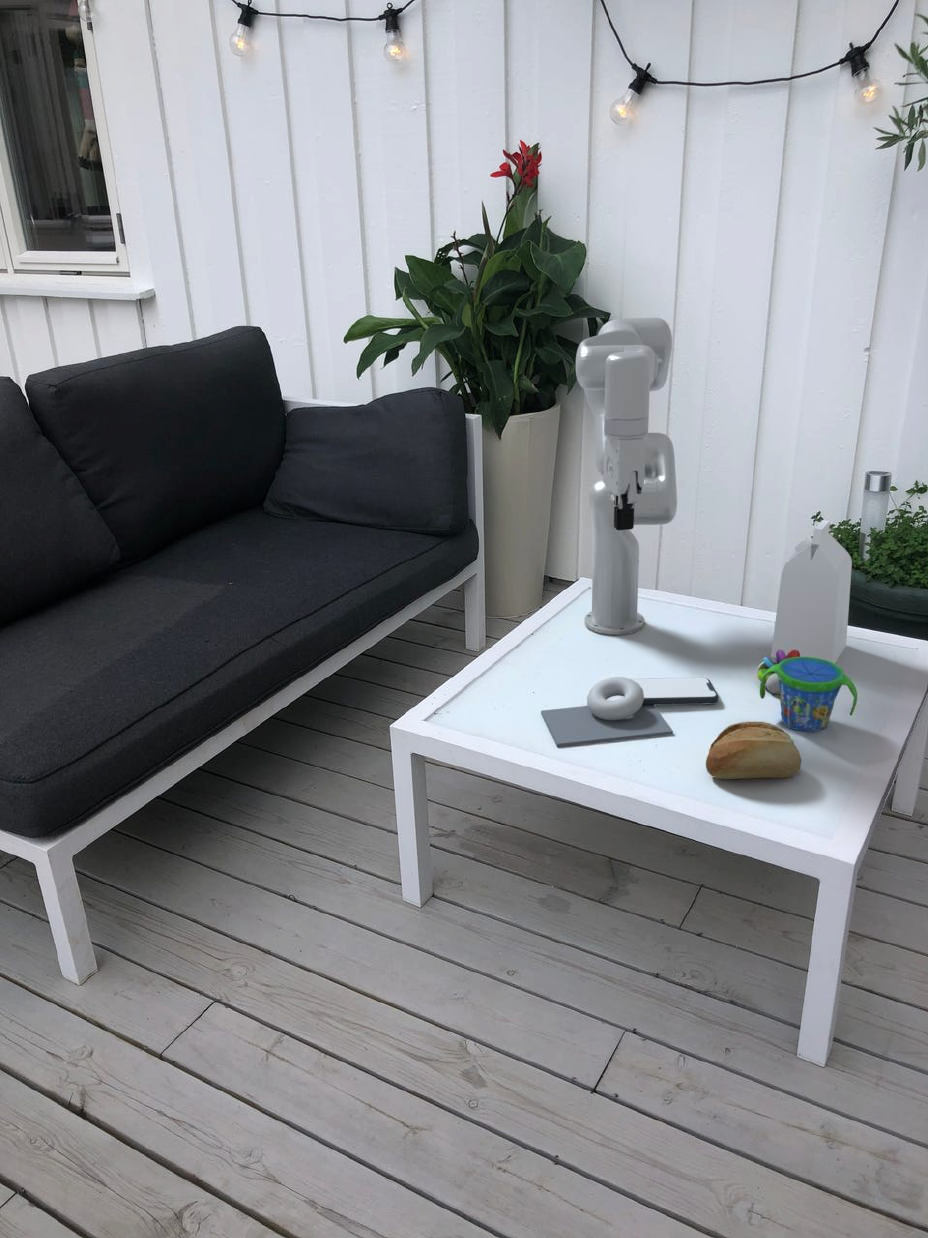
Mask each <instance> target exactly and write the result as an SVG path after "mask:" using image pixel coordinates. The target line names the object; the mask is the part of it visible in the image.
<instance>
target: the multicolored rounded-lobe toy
mask: <svg viewBox="0 0 928 1238" xmlns="http://www.w3.org/2000/svg"><path fill="white" fill-rule="evenodd" d="M793 657H800V653H799V651H797V650H792V651H790V652H789V653H788V654H787V656H786V655H785V653H784V651H783V650H781V649H780V650H777V652H776V658H775V660H776V661H773V660H772V659H771V657H768V656H765V657H763V659H762V662H761V663H760V664H759V665H757V666H758V667H757V672H756V673H757V675H756V676H757V679H758V680H759V681H760V682H761V680H762V677H763V676H764V674H765V672H766V671H767V670H768V669H769V668H770V667H772V666H774V665H776V664H779V663H780V662H782V661H783V660H785V659H788V658H793ZM765 688H767V690H768V692H770V693H772V694H774V695H777V694H778V695H780V684H779V678H778V675H777V674H776V673H775V672H771V673H769V674H768V675H767V676H766V678H765Z"/></svg>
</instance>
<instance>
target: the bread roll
mask: <svg viewBox="0 0 928 1238" xmlns="http://www.w3.org/2000/svg"><path fill="white" fill-rule="evenodd" d="M802 761H803V760H802V755H801V753H800V750H799V749H798V746H796V744H795V741H794V739H793V738H792V737H791V735H789V734H788V733H787V732H785V730H784V729H782V728H781V727H779V726H777V725H775V724H772V723H771V722H770V723H769V722H767V721H766V722H765V721H744V722H738V723H737V722H736V723H734V724H731V725H728V726H727V727H725V729H723V730H722V731H721V732H720V733H719V734H718V736H717V737H716V739H715V740H714V741H713V742H712V743H711V744H710V747H709V749H708V754H707V757H706V759H705V768H706V772H707V773H708V774H709V775H710V776H711V777H715V778H717V779H719V780H720V779H724V780H728V779H729V780H730V779H734V780H735V779H761V778H763V779H764V778H766V779H767V778H768V779H769V778H770V779H774V778H790V777H792V776H794V775H796V774H797V773H798V772H799V771H801V770H800V769H801V767H802V763H803V762H802Z"/></svg>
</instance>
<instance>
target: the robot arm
mask: <svg viewBox="0 0 928 1238" xmlns="http://www.w3.org/2000/svg"><path fill="white" fill-rule="evenodd" d="M672 347H673V337H672V331H671V328H670V325H669V324H668V323H667V321H666V320H665V319H663V318H660V317H631V318H630V317H627V318H626V317H625V318H623V317H622V318H614V319H612V320H609V321H607V322H606V323H605V324H603V325H602V326H601V328H600V329H599V331H598V334H597V335H594V336H590V337H588V338H586V339H583V340H582V341H581V342H580V344H579V345H578V347H577V350H576V354H575V355H576V356H575V375H576V380H577V382H578V384H579V386H580V387H581V388H583V392H584V395H585V398H586V402H587V404H588V407H589V409H590V411H591V414H592V417H593V421H594V437H595V439H594V443H595V444H594V445H595V448H594V449H595V465H596V470H597V472H598V474H599V475H600V476H601V477H602V479H599V480H597V481H596V482H595V483H593V484H592V485H591V487H590V490H589V492H588V493H589V494H588V506H589V512H590V518H591V520H590V521H591V528H592V529H591V531H592V568H591V569H592V575H591V576H592V577H591V578H592V581H591V582H592V583H591V586H592V587H591V611H590V612H589V613H587V614H585V615H584V625H585V627H587V629H589V630H590V631H593V632H596V633H599V634H604V635H610V636H611V635H612V636H614V635H616V636H620V635H629V634H633V633H636V632H638V631H640V630H642V628H644V626H645V617H644V616H643V615H642V614H641V613H639V612H638V604H639V603H638V601H639V600H638V599H639V598H638V597H639V596H638V594H639V569H640V568H639V567H640V563H639V562H640V544H639V541H638V539H637V537H636V536H635V535H634V533H633V532H632V531H631V530H633V529H634V526H660V525H661V526H662V525H667V524H669V523H671V522H673V520H674V519H675V517H676V515H677V511H678V510H677V509H678V493H677V476H676V462H675V461H676V460H675V451H674V450H675V449H674V446H673V442H672V440H671V438H670V437H669V436H668V435H667V434H665V433H662V432H649V421H650V420H649V418H650V417H649V416H650V414H649V413H650V392H656V391H660V390H661V389H662V388H663V387H664V386H665V385H666V383H667V379H668V375H669V367H670V363H671V362H670V361H671V357H672V349H673V348H672Z"/></svg>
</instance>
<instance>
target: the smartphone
mask: <svg viewBox="0 0 928 1238" xmlns="http://www.w3.org/2000/svg"><path fill="white" fill-rule="evenodd" d="M631 679H632V680H633V681H635V682H637V683H638V684H639V685H640V687H641V688H642V690H643V693H644V701H643V704H642V705H655V706H659V705H660V706H662V705H665V706H667V705H709V704H710V705H714V704H716V703H718V702H719V694H718V692H717V690H716V688H715V686H714V685H713V683H712V682H711V680H710V679H709V678H707V677H662V678H660V677H659V678H658V677H657V678H654V677H653V678H631Z"/></svg>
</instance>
